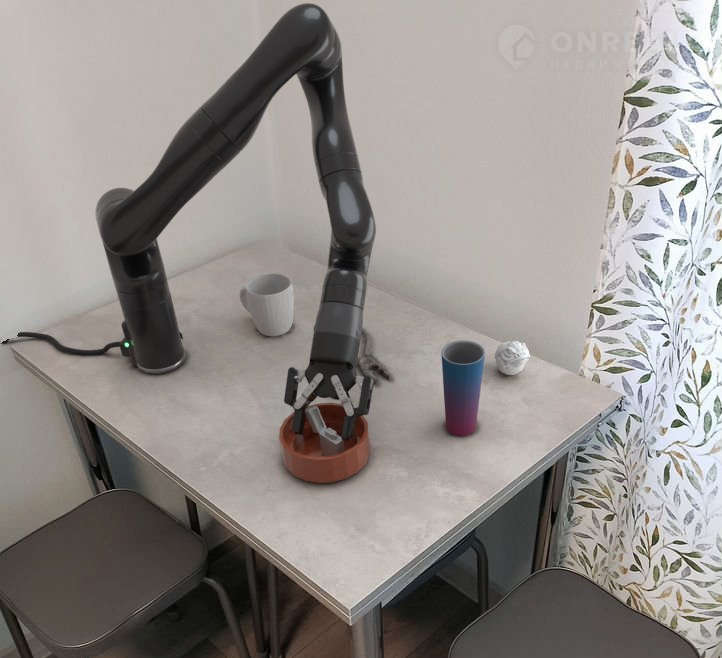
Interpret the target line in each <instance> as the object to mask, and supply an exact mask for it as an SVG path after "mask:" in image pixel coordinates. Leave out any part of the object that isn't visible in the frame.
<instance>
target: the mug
mask: <svg viewBox="0 0 722 658" xmlns="http://www.w3.org/2000/svg"><path fill="white" fill-rule="evenodd" d="M239 300H240V302H241V304H242V307H243V308H244V309H245V311H246V312H248V313H249V314H250V316H251V320H252V322H253V324H254V326H255V328H256V329H257V330H258V331H259V333H260V334H262V335H263V336H266V337H279V336H282V335H284V334H286V333H288V332H289V331H290V330H291V328H292V326H293V323H294V316H295V297H294V289H293V284H292V280H291V278H290V277H288V276H287V275H285V274H282V273H277V272H268V273H262V274H259V275H256V276H254V277H252V278H251V279H249V280H248V281H247V282H246V283H245V285H244V286H242V288H241V289H240V291H239Z"/></svg>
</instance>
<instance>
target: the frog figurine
mask: <svg viewBox="0 0 722 658" xmlns="http://www.w3.org/2000/svg"><path fill="white" fill-rule="evenodd" d="M530 359H531V356H530V351H529V349H528V347H527V346H526V343H525V342H520V341H518V340H514V341H513V340H510V341H504V342H502V343H500V344H499V345H498V346H497V348H496V349H495V352H494V360H495V362H496V365H497V366H496V367H497V368H498V369H499V371H500V372H501V373H503V374H504V375H507V376H515V375H517V374H519V373H521V371H522V370H523V369H524V367H525V366H526V364H527V363H526V362H528V361H529V360H530Z"/></svg>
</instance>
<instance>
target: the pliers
mask: <svg viewBox="0 0 722 658" xmlns="http://www.w3.org/2000/svg"><path fill="white" fill-rule="evenodd" d="M361 334H362V335H364V337H365V346H364V357H359V356H358V359H357V365H356V366H357V367H358V368H359V369H360V371H361V372H362V374H363V375H364V377H365V376H369V377H370V378H372V379H373V380H374V385H378V378H377V377H376V375H375V374H374V371H373V370H377V372H378V373H379V374H382V375H383V377H385V378H386V379H388V380H389V381H390V380H391V374H390V372H389V371H388V368H387V367H386V366H385V365H384V364H383V363H382V362H380V360H378V359H377V358H376V357H375V356H374V355H373V354H372V352H371V336H370V334H369V332H368V331H367V330H366V329H364V328H363V327H362V333H361Z"/></svg>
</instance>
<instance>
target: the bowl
mask: <svg viewBox="0 0 722 658" xmlns="http://www.w3.org/2000/svg"><path fill="white" fill-rule="evenodd" d="M310 406H317V407H318V409H319V411H320V414H321V416H322V419H323V421H324V423H325V426H326V429H328V428H331V429H333V430H334V431H336V432H337V435H338V436H340V437H342V431H343V424H344V418H345V416H347V414H346V411H345V409H344V407H343V405H342V403H336V402H320V403H314V404H311V405H310V404H309V406H308V407H307V408H309V407H310ZM307 408H306V409H307ZM306 409H305V410H306ZM304 412H305V411H304ZM293 417H294V411H293V412H292V413H291V414H289V415H288V416H287V417H286V418H285V419H284V420H283V422H282V424H281V425H280V427H279V432H278V433H279V434H278V439H279V440H278V441H279V445H280V453H281V459H282V462H283V464H284V467H285V468H286V469H287V471H288V472H290V474H291V475H293V476H294V477H296V478H298V479H300V480H303V481H305V482H311V483H318V484H321V483H323V484H324V483H335V482H338V481H342V480H346V479H348V478H349V477H352V476H353V475H356V474H357V473H358V472H360V470H361V469H363V467H365V465H366V464H367V462H368V461H369V458H370V454H371V449H370V436H369V423H368V421H367V419H366V418H365V415H363V416H359V417H357V418H356V422H355V428H354V434H353V437H352V438H349V441H344V450H345V452H344V453H340V454H337V455H333V456H327V457H325V456H324V455H322V452H321V444H320V435H319V433H315V432H313V429H312V427H311V425H310V422H309V420H308V418H307V415H306V417H305V423H304V429H303V434H302V435H298V434H295V430H293V428H292V423H293Z"/></svg>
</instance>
